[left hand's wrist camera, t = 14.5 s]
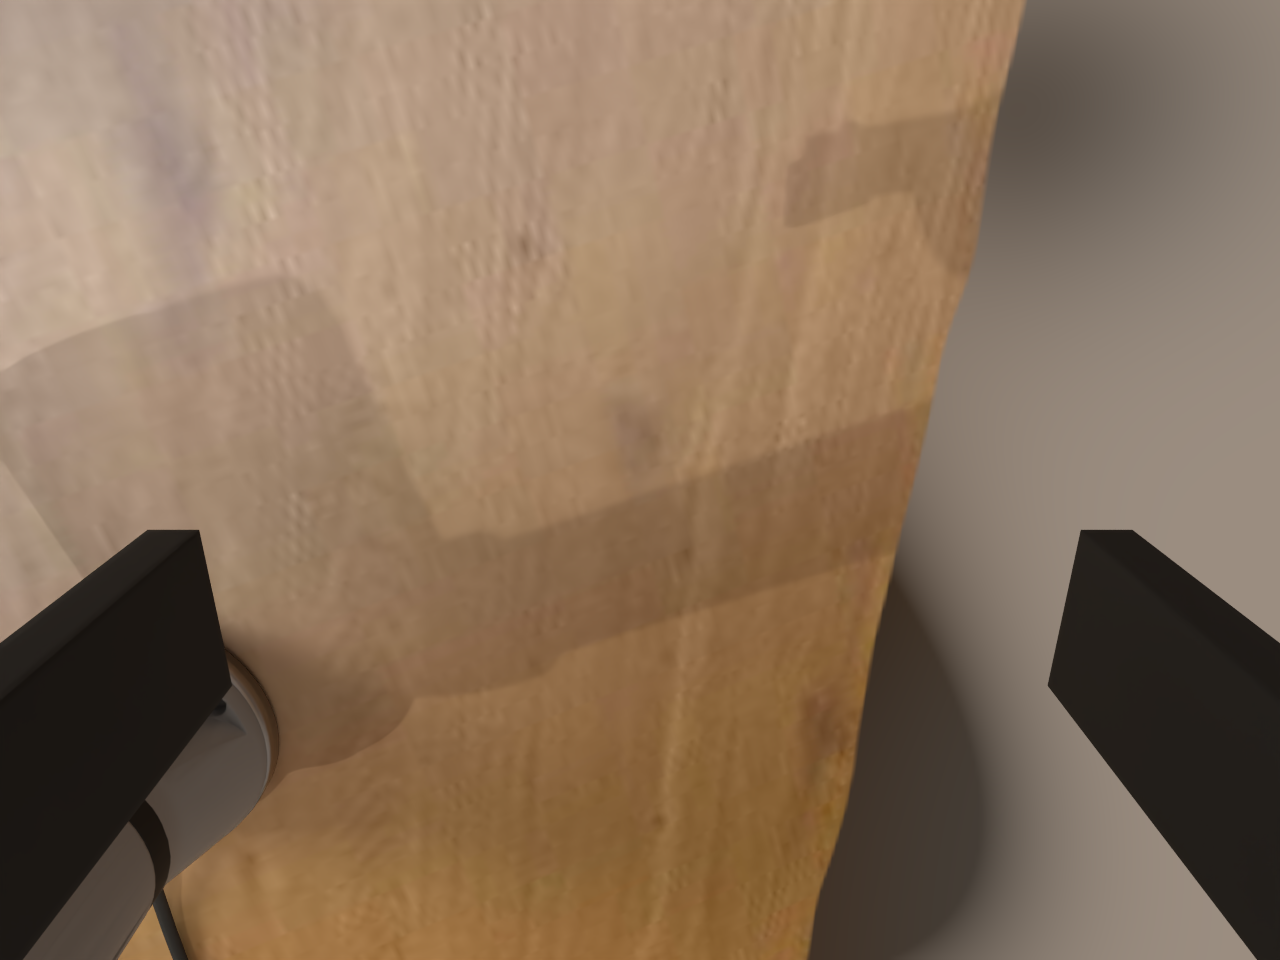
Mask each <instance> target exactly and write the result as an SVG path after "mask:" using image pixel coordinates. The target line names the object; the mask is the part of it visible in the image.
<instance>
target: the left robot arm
mask: <svg viewBox="0 0 1280 960" xmlns="http://www.w3.org/2000/svg"><path fill="white" fill-rule="evenodd" d="M1048 687H1049V688H1050V689H1051V691H1052V692H1053V693H1054V694H1055V696H1056V697H1057V698H1058V700H1059V701H1060V702H1061V704H1062V705H1063V706H1064V708H1065V709H1066V710H1067V711H1068V713H1069V714H1070V715H1071V717H1072V718H1073V719H1074V721H1075V722H1076V723H1077V724H1078V726H1079V727H1080V729H1081V730H1082V731H1083V732H1084V734H1085V735H1086V736H1087V738H1088V739H1089V740H1090V742H1091V743H1092V744H1093V746H1094V747H1095V748H1096V749H1097V751H1098V752H1099V753H1100V755H1101V756H1102V757H1103V759H1104V760H1105V761H1106V762H1107V764H1108V765H1109V766H1110V768H1111V769H1112V770H1113V772H1114V773H1115V774H1116V776H1117V777H1118V778H1119V780H1120V781H1121V782H1122V783H1123V785H1124V786H1125V787H1126V789H1127V790H1128V791H1129V793H1130V794H1131V795H1132V797H1133V798H1134V799H1135V800H1136V802H1137V803H1138V804H1139V806H1140V807H1141V808H1142V810H1143V811H1144V812H1145V814H1146V815H1147V816H1148V818H1149V819H1150V820H1151V821H1152V823H1153V824H1154V825H1155V827H1156V828H1157V829H1158V831H1159V832H1160V833H1161V835H1162V836H1163V837H1164V838H1165V840H1166V841H1167V842H1168V844H1169V845H1170V846H1171V848H1172V849H1173V850H1174V852H1175V853H1176V854H1177V856H1178V857H1179V858H1180V859H1181V861H1182V862H1183V863H1184V865H1185V866H1186V867H1187V869H1188V870H1189V871H1190V873H1191V874H1192V875H1193V876H1194V878H1195V879H1196V880H1197V882H1198V883H1199V884H1200V886H1201V887H1202V888H1203V890H1204V891H1205V892H1206V893H1207V895H1208V896H1209V897H1210V899H1211V900H1212V901H1213V903H1214V904H1215V905H1216V907H1217V908H1218V909H1219V911H1220V912H1221V913H1222V914H1223V916H1224V917H1225V918H1226V920H1227V921H1228V922H1229V923H1230V925H1231V926H1232V927H1233V929H1234V930H1235V931H1236V933H1237V934H1238V935H1239V937H1240V938H1241V939H1242V941H1243V942H1244V943H1245V945H1246V946H1247V947H1248V948H1249V950H1250V951H1251V952H1252V954H1253V955H1254V956H1255V958H1256V959H1257V960H1280V643H1279V642H1278V641H1276V640H1275V639H1274V638H1272V637H1271V636H1270V635H1268V634H1267V633H1266V632H1265V631H1263V630H1262V629H1261V628H1259V627H1258V626H1257V625H1255V624H1254V623H1253V622H1251V621H1250V620H1249V619H1248V618H1246V617H1245V616H1244V615H1242V614H1241V613H1240V612H1239V611H1237V610H1236V609H1235V608H1233V607H1232V606H1231V605H1229V604H1228V603H1227V602H1225V601H1224V600H1223V599H1222V598H1220V597H1219V596H1218V595H1216V594H1215V593H1214V592H1212V591H1211V590H1210V589H1209V588H1207V587H1206V586H1205V585H1203V584H1202V583H1201V582H1199V581H1198V580H1197V579H1196V578H1194V577H1193V576H1192V575H1190V574H1189V573H1188V572H1186V571H1185V570H1184V569H1182V568H1181V567H1180V566H1179V565H1177V564H1176V563H1175V562H1173V561H1172V560H1171V559H1170V558H1168V557H1167V556H1166V555H1164V554H1163V553H1162V552H1160V551H1159V550H1158V549H1157V548H1155V547H1154V546H1153V545H1151V544H1150V543H1149V542H1147V541H1146V540H1145V539H1143V538H1142V537H1141V536H1139V535H1138V534H1137V533H1136V532H1134V531H1133V530H1081V532H1080V537H1079V541H1078V546H1077V551H1076V555H1075V560H1074V565H1073V569H1072V574H1071V579H1070V583H1069V588H1068V593H1067V597H1066V602H1065V607H1064V612H1063V616H1062V621H1061V626H1060V630H1059V635H1058V640H1057V644H1056V649H1055V654H1054V659H1053V663H1052V668H1051V673H1050V677H1049V682H1048ZM278 752H279V735H278V729H277V723H276V720H275V716H274V713H273V710H272V708H271V706H270V703H269V701H268V699H267V697H266V695H265V694H264V692H263V690H262V689H261V687H260V686H259V684H258V683H257V681H256V680H255V679H254V677H253V676H252V675H251V674H250V673H249V671H248V670H247V669H246V668H245V667H244V666H243V665H242V664H241V663H240V662H239V661H238V660H237V659H236V658H235V657H233V656H232V655H231V654H230V653H229V652H228V651H226V650H225V649H224V644H223V640H222V635H221V630H220V626H219V621H218V616H217V612H216V607H215V602H214V597H213V593H212V588H211V583H210V579H209V574H208V569H207V565H206V560H205V555H204V551H203V546H202V541H201V537H200V532H199V530H147V531H146V532H144V533H143V534H142V535H140V536H139V537H138V538H137V539H135V540H134V541H133V542H131V543H130V544H129V545H127V546H126V547H125V548H123V549H122V550H121V551H120V552H118V553H117V554H116V555H114V556H113V557H112V558H110V559H109V560H108V561H107V562H105V563H104V564H103V565H101V566H100V567H99V568H97V569H96V570H95V571H94V572H92V573H91V574H90V575H88V576H87V577H86V578H84V579H83V580H82V581H81V582H79V583H78V584H77V585H75V586H74V587H73V588H71V589H70V590H69V591H68V592H66V593H65V594H64V595H62V596H61V597H60V598H58V599H57V600H56V601H55V602H53V603H52V604H51V605H49V606H48V607H47V608H45V609H44V610H43V611H41V612H40V613H39V614H38V615H36V616H35V617H34V618H32V619H31V620H30V621H28V622H27V623H26V624H25V625H23V626H22V627H21V628H19V629H18V630H17V631H15V632H14V633H13V634H12V635H10V636H9V637H8V638H6V639H5V640H4V641H2V642H1V643H0V960H117V959H118V958H119V956H120V955H121V953H122V952H123V950H124V949H125V947H126V945H127V944H128V942H129V941H130V939H131V938H132V936H133V934H134V933H135V931H136V930H137V928H138V927H139V925H140V924H141V922H142V920H143V919H144V917H145V916H146V914H147V912H148V911H149V909H150V907H151V906H152V904H153V906H154V909H155V912H156V915H157V918H158V921H159V923H160V926H161V929H162V932H163V935H164V937H165V940H166V943H167V945H168V948H169V950H170V953H171V955H172V958H173V960H188V958H187V955H186V953H185V950H184V947H183V945H182V942H181V939H180V937H179V934H178V931H177V929H176V926H175V923H174V920H173V917H172V914H171V911H170V908H169V905H168V902H167V899H166V896H165V893H164V890H163V888H164V886H165V885H166V884H167V883H168V882H169V881H171V880H172V879H173V878H174V877H176V876H177V875H178V874H179V873H180V872H182V871H183V870H184V869H185V868H187V867H188V866H189V865H190V864H192V863H193V862H194V861H195V860H196V859H198V858H199V857H200V856H201V855H203V854H204V853H205V852H206V851H207V850H209V849H210V848H211V847H212V846H213V845H215V844H216V843H217V842H218V841H219V840H221V839H222V838H223V837H224V836H226V835H227V834H228V833H230V832H231V831H232V830H233V829H234V828H235V827H237V826H238V825H239V823H240V822H241V821H242V820H243V819H244V818H245V817H246V816H247V815H248V814H249V813H250V812H251V810H252V809H253V808H254V806H255V805H256V803H257V802H258V800H259V799H260V797H261V795H262V794H263V792H264V790H265V788H266V787H267V785H268V783H269V781H270V779H271V777H272V775H273V773H274V770H275V767H276V764H277V759H278Z"/></svg>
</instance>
